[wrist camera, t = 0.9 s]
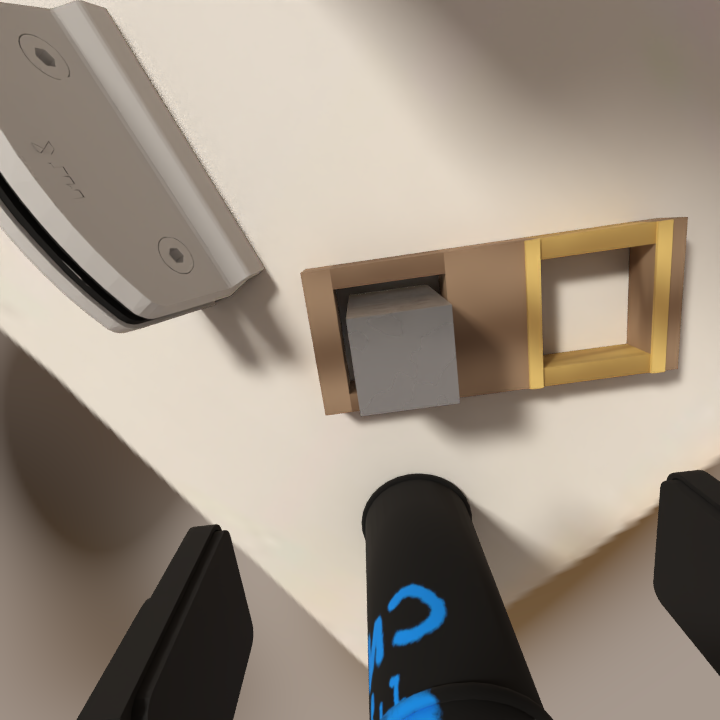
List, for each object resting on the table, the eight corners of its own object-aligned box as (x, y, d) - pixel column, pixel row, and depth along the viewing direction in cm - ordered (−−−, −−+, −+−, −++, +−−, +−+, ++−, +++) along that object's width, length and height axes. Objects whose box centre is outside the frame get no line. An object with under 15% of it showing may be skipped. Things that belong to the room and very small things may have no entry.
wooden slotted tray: (305, 269, 28) (299, 273, 25) (658, 218, 27) (690, 216, 25) (328, 400, 31) (325, 416, 28) (651, 357, 30) (679, 369, 27)
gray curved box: (268, 273, 28) (161, 333, 20) (217, 304, 30) (101, 369, 22) (101, 0, 24) (-128, -77, 15) (56, 57, 26) (-167, 17, 18)
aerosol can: (490, 496, 33) (677, 874, 14) (440, 579, 35) (540, 1007, 16) (389, 456, 32) (436, 802, 13) (344, 544, 34) (326, 955, 15)
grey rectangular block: (349, 294, 29) (345, 319, 21) (426, 283, 28) (451, 304, 21) (360, 368, 30) (360, 416, 22) (433, 358, 30) (459, 403, 22)
